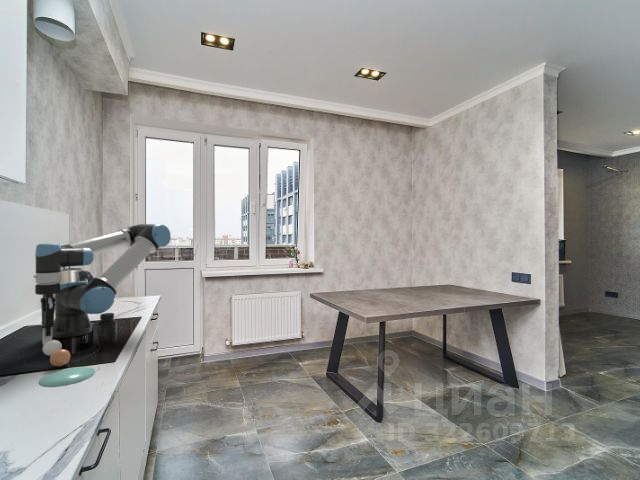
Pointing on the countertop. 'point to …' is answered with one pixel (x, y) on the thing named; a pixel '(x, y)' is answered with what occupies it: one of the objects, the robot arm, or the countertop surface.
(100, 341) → the supplement bottle
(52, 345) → the cue ball
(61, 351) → the object ball
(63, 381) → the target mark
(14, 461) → the countertop surface
